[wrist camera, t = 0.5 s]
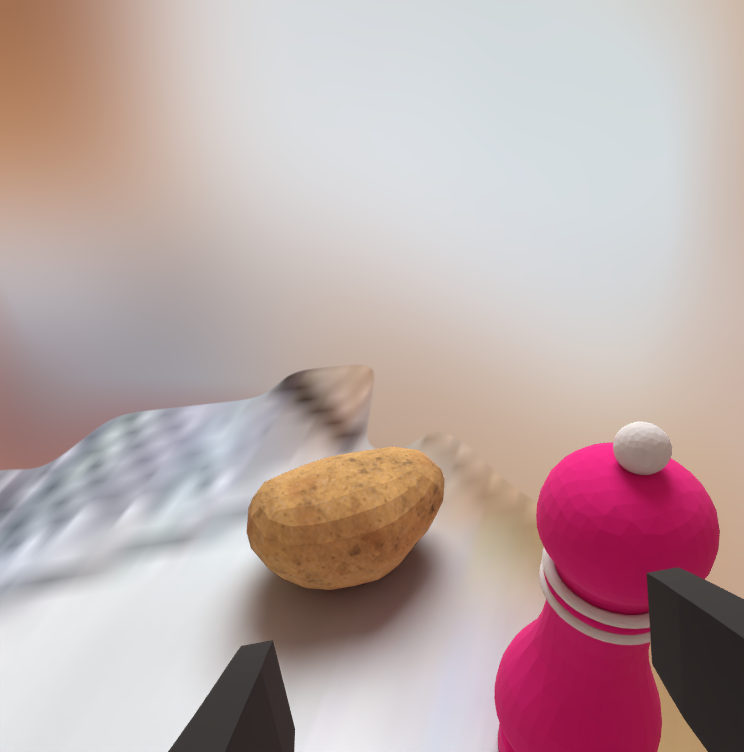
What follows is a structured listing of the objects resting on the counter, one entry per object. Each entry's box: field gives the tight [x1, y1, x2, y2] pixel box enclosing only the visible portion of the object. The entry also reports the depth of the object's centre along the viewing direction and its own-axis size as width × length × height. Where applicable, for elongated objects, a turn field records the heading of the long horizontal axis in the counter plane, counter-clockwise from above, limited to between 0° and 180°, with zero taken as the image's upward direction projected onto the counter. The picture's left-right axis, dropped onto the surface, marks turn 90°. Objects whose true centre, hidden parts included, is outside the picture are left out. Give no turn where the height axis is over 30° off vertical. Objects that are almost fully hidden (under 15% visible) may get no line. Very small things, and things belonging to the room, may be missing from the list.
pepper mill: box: [495, 422, 720, 752], centre depth 23 cm, size 7×7×20 cm
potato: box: [247, 447, 444, 590], centre depth 37 cm, size 10×14×8 cm
